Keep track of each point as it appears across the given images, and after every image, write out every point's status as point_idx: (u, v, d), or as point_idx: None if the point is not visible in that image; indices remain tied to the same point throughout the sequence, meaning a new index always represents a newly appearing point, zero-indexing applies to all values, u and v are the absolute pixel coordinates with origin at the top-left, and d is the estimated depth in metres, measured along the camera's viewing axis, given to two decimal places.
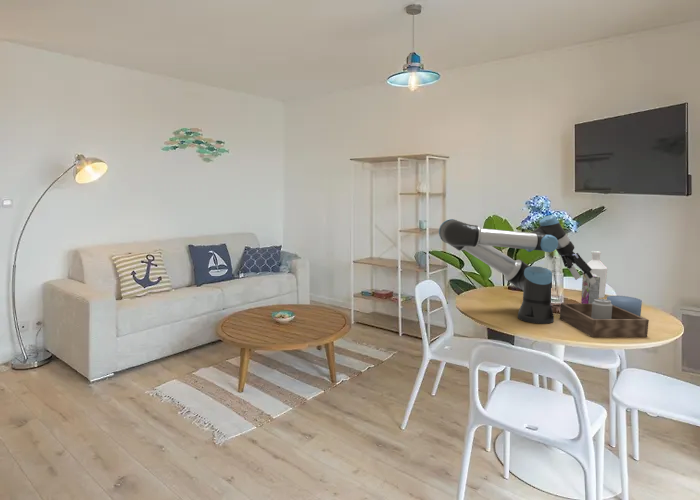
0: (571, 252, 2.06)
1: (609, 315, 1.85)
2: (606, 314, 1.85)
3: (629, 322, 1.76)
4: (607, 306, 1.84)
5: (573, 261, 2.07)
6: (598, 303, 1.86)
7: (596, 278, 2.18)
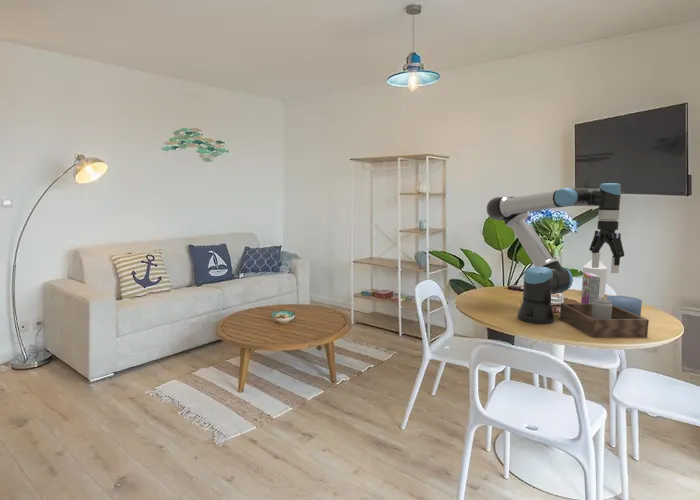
0: (613, 230, 1.81)
1: (609, 315, 1.85)
2: (606, 314, 1.85)
3: (629, 322, 1.76)
4: (607, 306, 1.84)
5: (608, 240, 1.82)
6: (598, 303, 1.86)
7: (596, 278, 2.18)
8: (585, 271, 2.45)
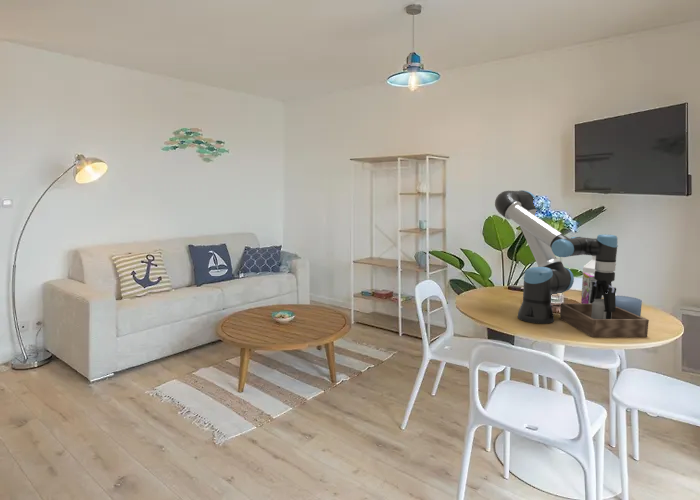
0: (609, 282, 1.83)
1: None
2: None
3: (629, 322, 1.76)
4: None
5: (604, 293, 1.84)
6: (598, 303, 1.86)
7: None
8: (585, 271, 2.45)
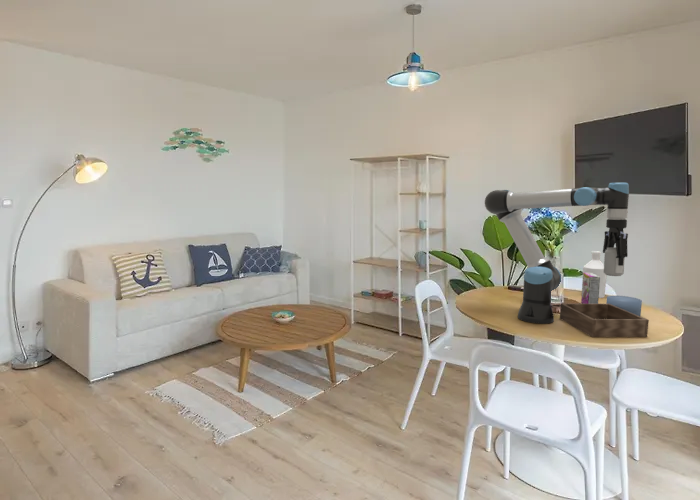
0: (621, 228, 1.86)
1: None
2: None
3: (629, 322, 1.76)
4: None
5: (616, 240, 1.87)
6: (610, 250, 1.89)
7: (596, 278, 2.18)
8: (585, 271, 2.45)
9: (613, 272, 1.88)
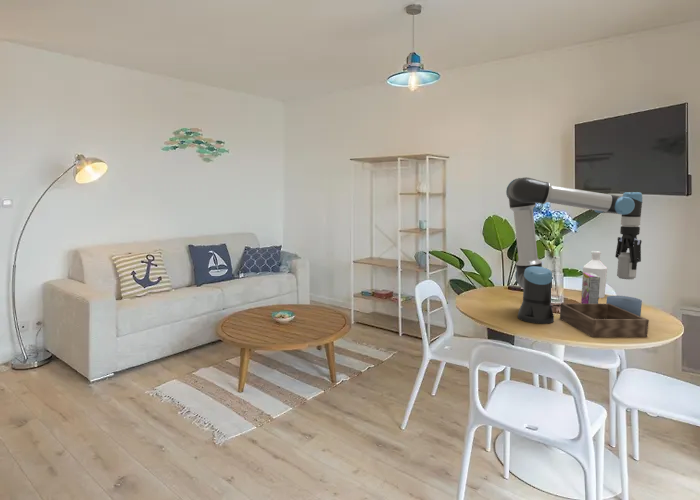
0: (634, 235, 1.99)
1: None
2: None
3: (629, 322, 1.76)
4: None
5: (629, 246, 2.00)
6: (624, 255, 2.02)
7: (596, 278, 2.18)
8: (585, 271, 2.45)
9: (627, 276, 2.02)
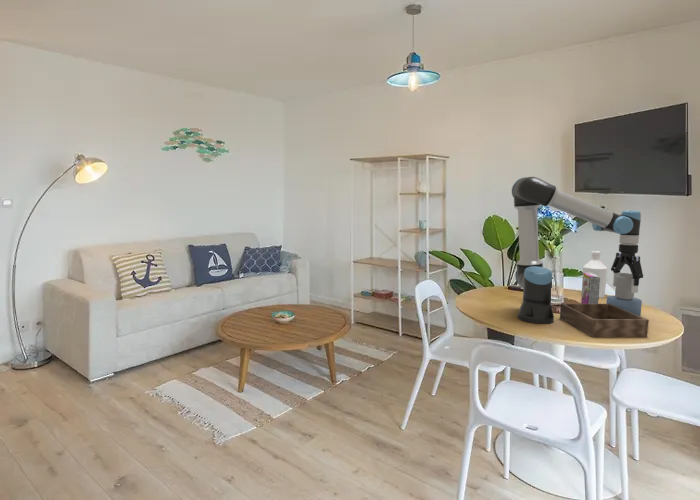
0: (633, 253, 2.00)
1: None
2: (629, 286, 2.02)
3: (629, 322, 1.76)
4: (631, 279, 2.02)
5: (629, 263, 2.01)
6: (622, 276, 2.03)
7: (596, 278, 2.18)
8: (585, 271, 2.45)
9: (625, 296, 2.03)
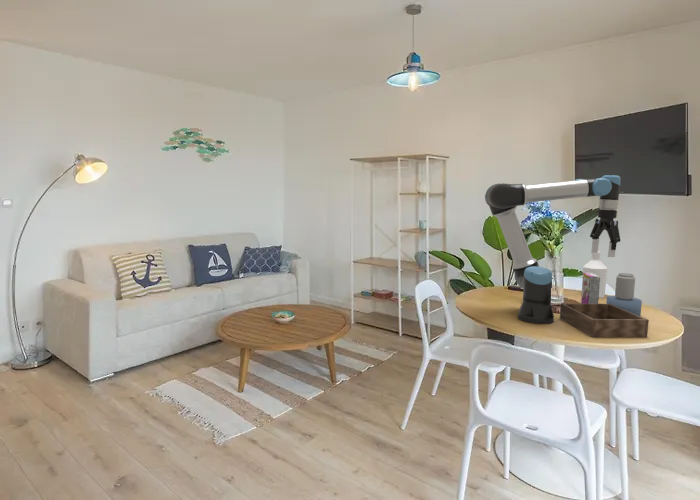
0: (611, 218, 2.00)
1: (632, 287, 2.02)
2: (629, 286, 2.02)
3: (629, 322, 1.76)
4: (631, 279, 2.02)
5: (607, 227, 2.00)
6: (622, 276, 2.03)
7: (596, 278, 2.18)
8: (585, 271, 2.45)
9: (625, 296, 2.03)
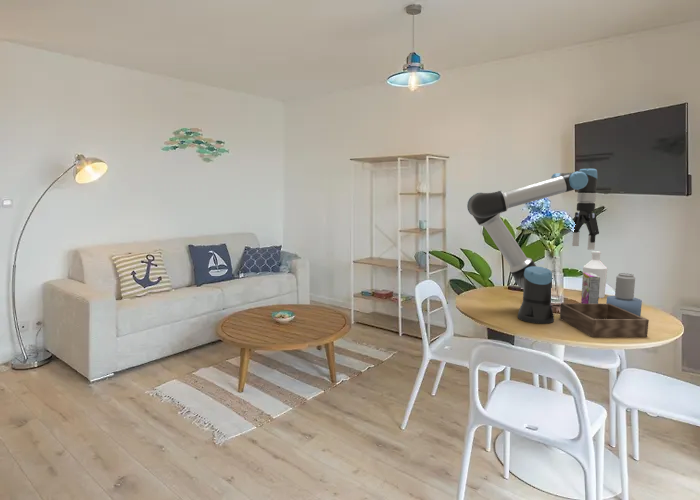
0: (590, 211, 2.01)
1: (632, 287, 2.02)
2: (629, 287, 2.02)
3: (629, 322, 1.76)
4: (631, 279, 2.02)
5: (586, 220, 2.02)
6: (622, 276, 2.03)
7: (596, 278, 2.18)
8: (585, 271, 2.45)
9: (625, 297, 2.03)
